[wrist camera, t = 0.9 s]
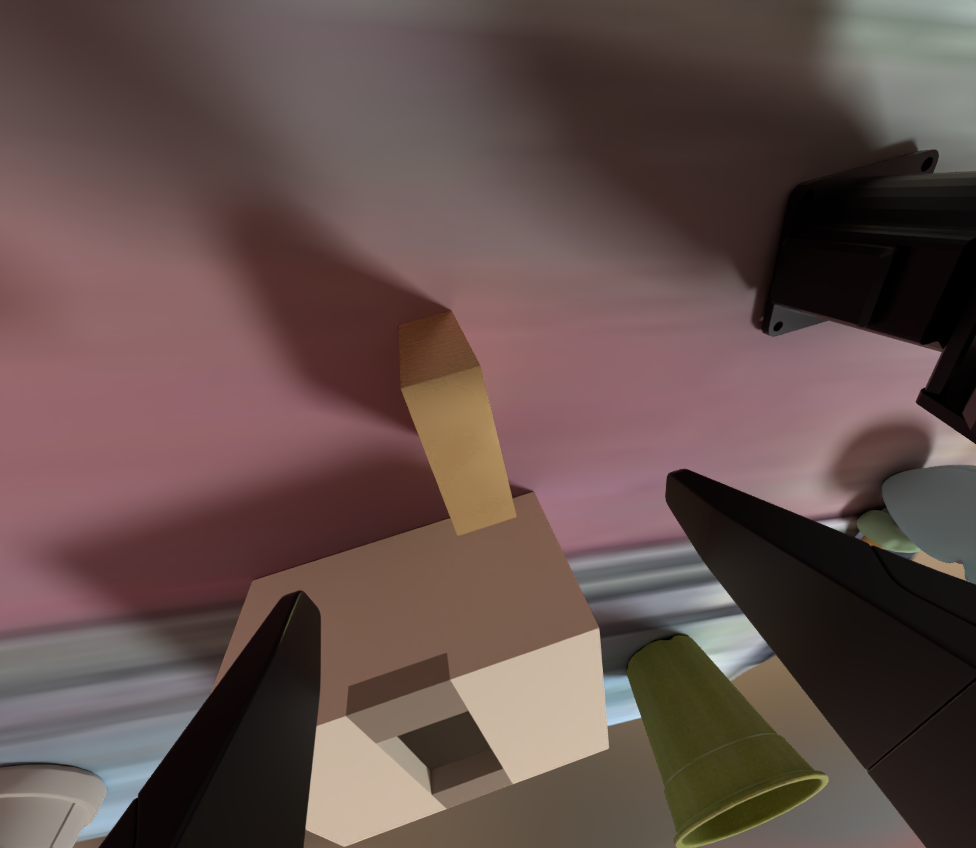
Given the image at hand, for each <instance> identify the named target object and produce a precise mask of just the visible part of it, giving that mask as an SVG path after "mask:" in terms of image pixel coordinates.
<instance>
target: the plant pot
mask: <svg viewBox="0 0 976 848" xmlns="http://www.w3.org/2000/svg"><path fill="white" fill-rule="evenodd" d="M626 673H627V676H628V679H629V682H630V685H631V688H632V691H633V694H634V697H635V700H636V703H637V706H638V709H639V712H640V715H641V718H642V720H643V723H644V726H645V729H646V732H647V735H648V738H649V741H650V744H651V747H652V750H653V753H654V756H655V759H656V762H657V765H658V768H659V771H660V774H661V777H662V780H663V783H664V787H665V790H664V793H665V796H666V800H667V803H668V806H669V809H670V812H671V815H672V818H673V822H674V825H675V828H676V832H677V834H676V836H675V838H674V844H675V846H676V847H677V848H694V847H698V846H702V845H707V844H710V843H713V842H716V841H719V840H722V839H725V838H728V837H731V836H733V835H736V834H739V833H741V832H744V831H746V830H749V829H751V828H754V827H756V826H758V825H760V824H762V823H765V822H767V821H769V820H771V819H773V818H775V817H777V816H779V815H782V814H783V813H785V812H787V811H789V810H791V809H793V808H795V807H796V806H798V805H800V804H801V803H803V802H805V801H807V800H808V799H809V798H811V797H812V796H814V795H815V794H816V793H818V792H819V791H820V790H821V789H823V788H824V787H825V785H826V784H827V782H828V781H829V780H828V776H827V775H826V774H825V773H823V772H821V771H815V770H814V769H812V767H810V765H809V764H808V763H807V762H806V761H805V760H804V759H803V758H802V757H801V756H800V755H799V754H798V753H797V751H795V749H794V748H793V747H792V746H791V745H790V744H789V743H788V742H787V741H786V739H785V738H783V737H782V736H780V735H778V734H777V733H776V732H775V731H774V730H773V729H772V727H771V726H770V725H769V724H768V723H767V722H766V721H765V720H764V719H763V717H762V716H761V715H760V714H759V713H758V712H757V711H756V710H755V709H754V707H753V706H752V705H751V704H750V703H749V702H748V701H747V700H746V698H745V697H744V696H743V695H742V694H741V693H740V692H739V691H738V690H737V688H736V687H735V686H734V685H733V684H732V683H731V682H730V681H729V679H728V678H727V677H726V676H725V675H724V674H723V673H722V672H721V670H720V669H719V668H718V667H717V666H716V665H715V664H714V663H713V661H712V660H711V659H710V658H709V657H708V656H707V655H706V653H705V652H704V651H703V650H702V649H701V648H700V647H699V646H698V645H697V643H696V642H695V641H694V640H693V639H692V638H690V637H688V636H681V635H677V636H674V637H673V638H672V639H671V640H658V641H654V642H652V643H650V644H648V645H646V646H645V647H644V648H643V649H641V650H640V651H639V652H637V653H636V654H635V655H634V656H633V657H632V658H631V660H630V661H629V663H628V670H627V671H626Z"/></svg>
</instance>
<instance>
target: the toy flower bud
mask: <svg viewBox="0 0 976 848" xmlns="http://www.w3.org/2000/svg"><path fill="white" fill-rule="evenodd" d="M882 495H883V499H884V502H885V504H886V507H887V508H884V509H882V510H881V511H879V510H870V511H867V512H865V513H864V514H862V515H861V516H860V517H859V518H858V520H857V527H858V529H859V530H860V532H861V533H862V534H863V535H864V536H863V537H862V539H861V540H862V541H864V542H867V543H868V544H869V545H870V546H871V545H874V546H877V547H879V548H882V549H886V550H891V551H895V552H906V553H913V552H919V551H924V552H925V553H926V554H928V555H930V556H931V557H933V558H935V559H937V560H940V561H943V562H946V563H953V562H956V563H959V564H963V566H964V569H965V579H966V580H967V581H969V582H970V583H973V584H976V466H972V465H944V466H935V467H929V468H921V469H913V470H908V471H904V472H901V473H898V474H895V475H893V476H891V477H889V478H888V479H887V480H885V482H884V483H883V485H882Z"/></svg>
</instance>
